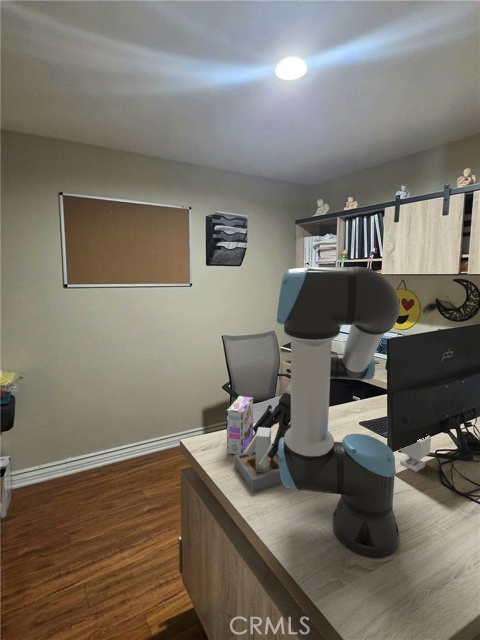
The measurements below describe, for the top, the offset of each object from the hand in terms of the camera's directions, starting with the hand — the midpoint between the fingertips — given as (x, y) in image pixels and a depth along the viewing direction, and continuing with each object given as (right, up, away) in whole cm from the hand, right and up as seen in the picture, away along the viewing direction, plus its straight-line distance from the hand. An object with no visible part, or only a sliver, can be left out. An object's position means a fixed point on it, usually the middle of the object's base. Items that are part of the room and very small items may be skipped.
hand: (254, 459), depth 102 cm
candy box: (-4, -3, +19) cm, 20 cm away
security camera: (+52, -4, +6) cm, 53 cm away
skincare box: (+3, -3, +3) cm, 5 cm away
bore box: (+3, -5, +3) cm, 7 cm away
